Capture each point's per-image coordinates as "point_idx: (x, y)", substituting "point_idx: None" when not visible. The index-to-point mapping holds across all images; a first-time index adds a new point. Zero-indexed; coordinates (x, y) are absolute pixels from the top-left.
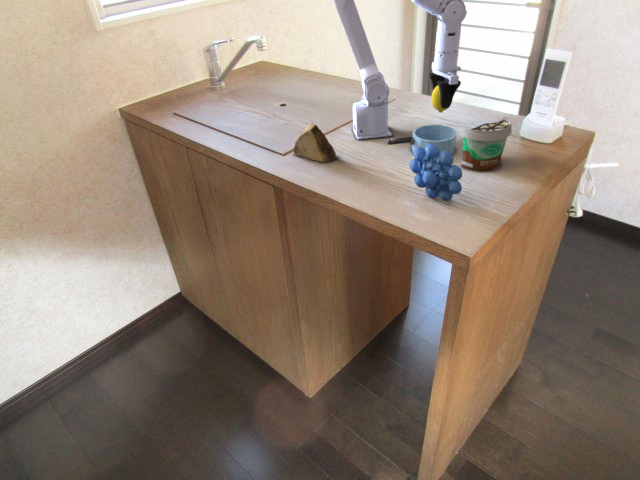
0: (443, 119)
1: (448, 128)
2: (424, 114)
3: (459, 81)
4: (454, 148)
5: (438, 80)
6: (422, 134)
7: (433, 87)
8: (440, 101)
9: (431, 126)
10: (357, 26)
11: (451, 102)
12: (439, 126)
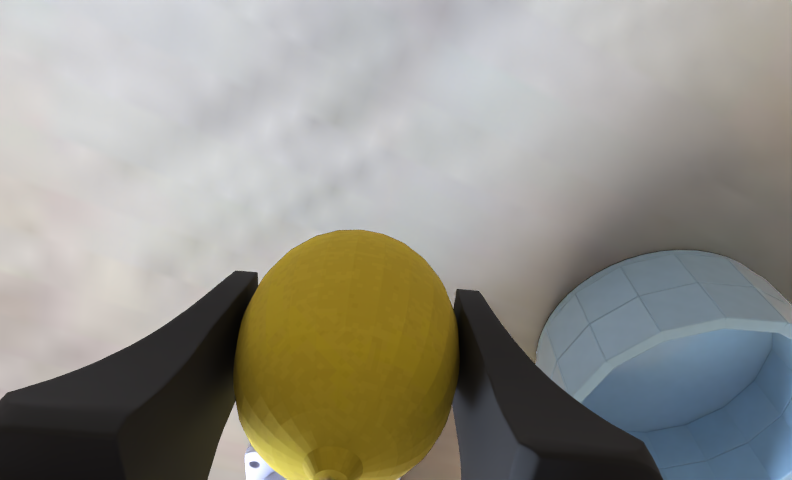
0: (221, 112)
1: (685, 334)
2: (93, 199)
3: (604, 471)
4: (773, 287)
5: (181, 475)
6: None
7: (216, 447)
8: (454, 399)
9: (579, 399)
10: None
11: (425, 266)
12: (612, 364)
